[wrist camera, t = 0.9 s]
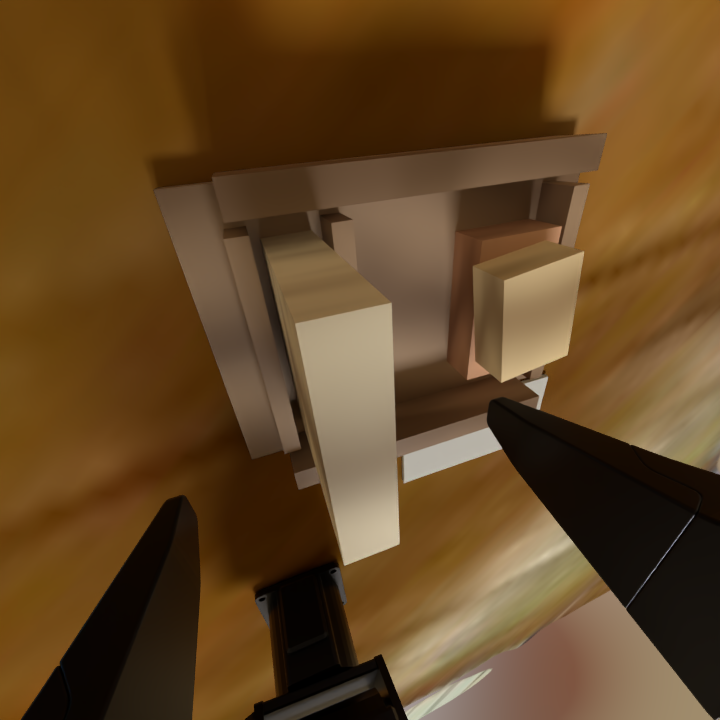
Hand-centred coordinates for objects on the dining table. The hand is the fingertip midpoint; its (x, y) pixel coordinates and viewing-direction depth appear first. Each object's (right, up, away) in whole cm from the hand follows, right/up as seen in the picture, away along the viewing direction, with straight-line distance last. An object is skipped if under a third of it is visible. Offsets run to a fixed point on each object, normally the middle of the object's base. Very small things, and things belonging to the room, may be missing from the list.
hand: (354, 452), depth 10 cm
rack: (+2, +5, +8) cm, 10 cm away
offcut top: (+7, +5, +6) cm, 11 cm away
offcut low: (+7, +6, +8) cm, 12 cm away
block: (-2, +4, +6) cm, 7 cm away
